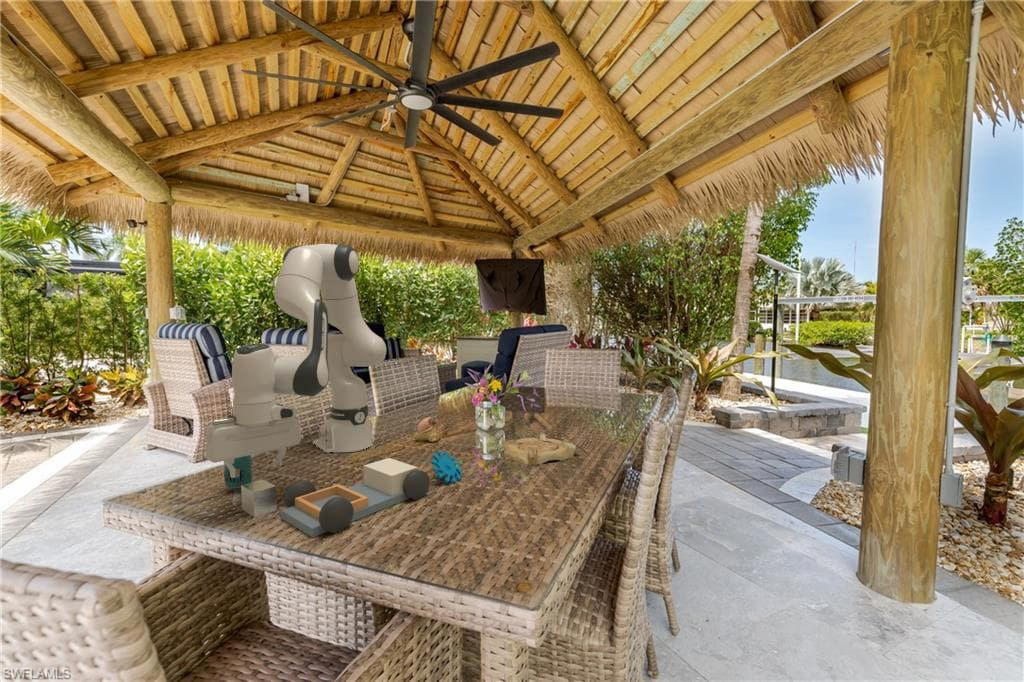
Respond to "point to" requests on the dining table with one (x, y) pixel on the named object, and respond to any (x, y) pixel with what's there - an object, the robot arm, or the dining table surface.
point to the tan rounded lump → (427, 430)
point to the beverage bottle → (245, 471)
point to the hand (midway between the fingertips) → (256, 471)
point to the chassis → (352, 497)
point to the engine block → (258, 497)
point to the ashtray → (538, 450)
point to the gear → (446, 467)
